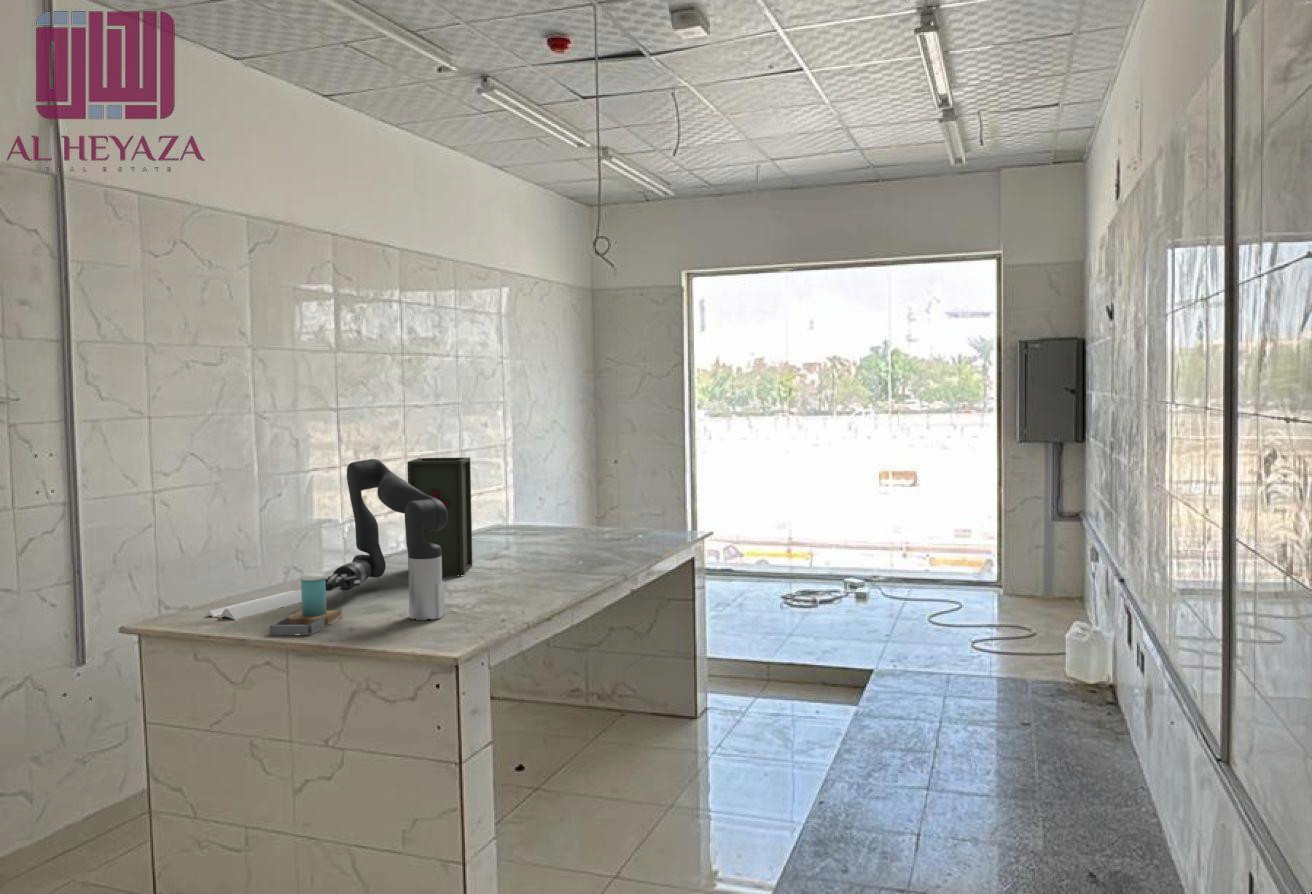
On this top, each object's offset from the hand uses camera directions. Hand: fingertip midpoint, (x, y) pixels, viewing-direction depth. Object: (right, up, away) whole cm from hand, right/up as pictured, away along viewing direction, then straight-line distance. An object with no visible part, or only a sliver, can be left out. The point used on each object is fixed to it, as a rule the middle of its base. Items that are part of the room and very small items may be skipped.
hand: (327, 587), depth 274 cm
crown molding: (-22, -8, +9) cm, 25 cm away
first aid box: (+19, -4, +63) cm, 66 cm away
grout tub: (-1, -6, -9) cm, 11 cm away
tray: (-1, -9, -20) cm, 22 cm away
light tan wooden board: (0, -8, -10) cm, 13 cm away
